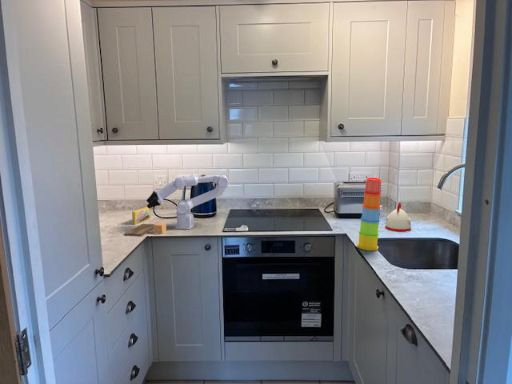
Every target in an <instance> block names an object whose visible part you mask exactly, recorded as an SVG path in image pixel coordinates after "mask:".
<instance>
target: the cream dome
mask: <svg viewBox="0 0 512 384" xmlns="http://www.w3.org/2000/svg"><path fill="white" fill-rule="evenodd" d="M386 216H387V217H386V220H385V226H384V228H385V229H386V230H388V231H389V232H396V233H407V232H406V231H408V232H411V229H412V222H411V221H412V220H411V216H410V217H409V215H408V213H407V212H406V211H405V210H404V209H402V202H398V204H397V208H395V209H394V210H392V211H391V212H390V213H389V214H388V215H386Z"/></svg>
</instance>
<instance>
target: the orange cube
mask: <svg viewBox="0 0 512 384" xmlns="http://www.w3.org/2000/svg"><path fill="white" fill-rule="evenodd" d="M166 232H167V223H166V222H157V223H155V225H154V229H153V233H154V234H157V235H158V234H159V235H162V234H164V233H166Z"/></svg>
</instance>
